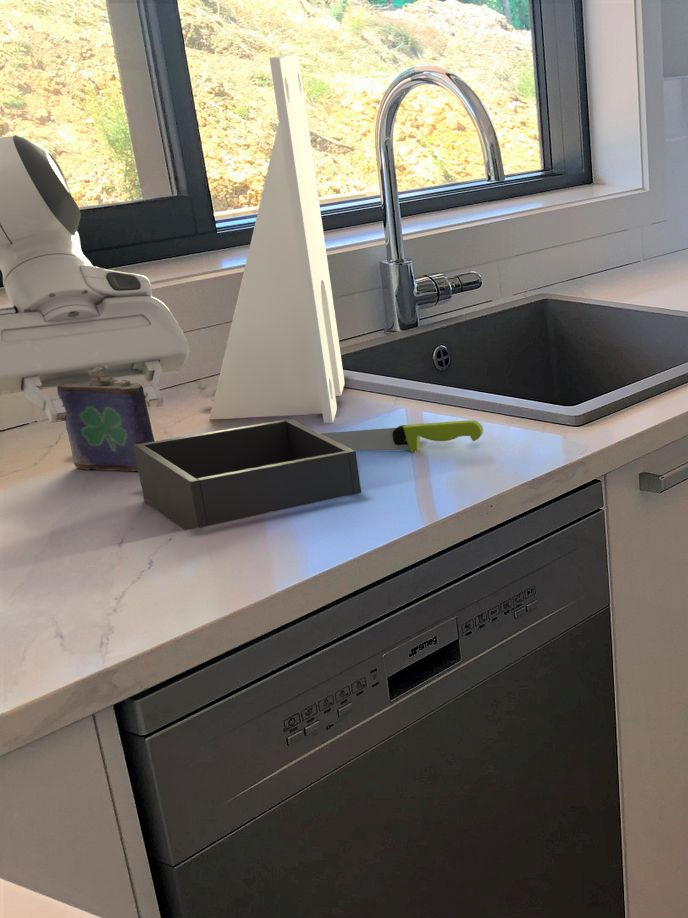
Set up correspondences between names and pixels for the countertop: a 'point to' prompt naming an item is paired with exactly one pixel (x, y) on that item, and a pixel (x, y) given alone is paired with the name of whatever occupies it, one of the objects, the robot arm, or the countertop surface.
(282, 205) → the white bracket plate
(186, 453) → the open dark grey box
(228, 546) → the countertop surface
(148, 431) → the flask
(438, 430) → the kitchen knife
